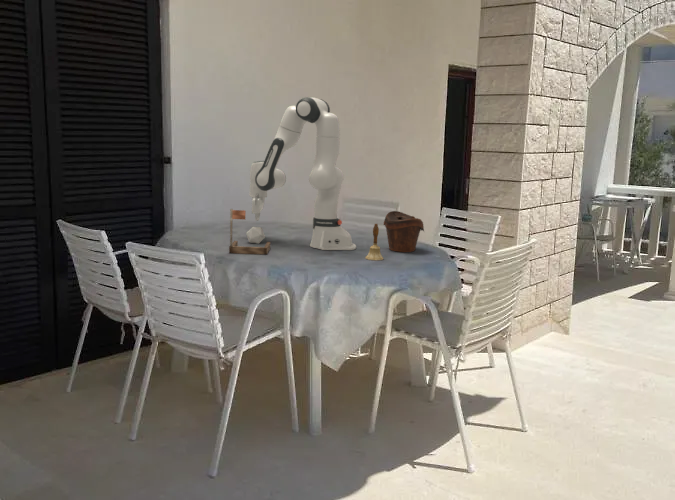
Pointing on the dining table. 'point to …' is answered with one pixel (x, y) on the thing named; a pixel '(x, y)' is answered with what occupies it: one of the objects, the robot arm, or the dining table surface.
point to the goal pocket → (234, 246)
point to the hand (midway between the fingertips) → (257, 220)
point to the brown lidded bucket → (402, 231)
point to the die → (255, 235)
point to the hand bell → (375, 247)
